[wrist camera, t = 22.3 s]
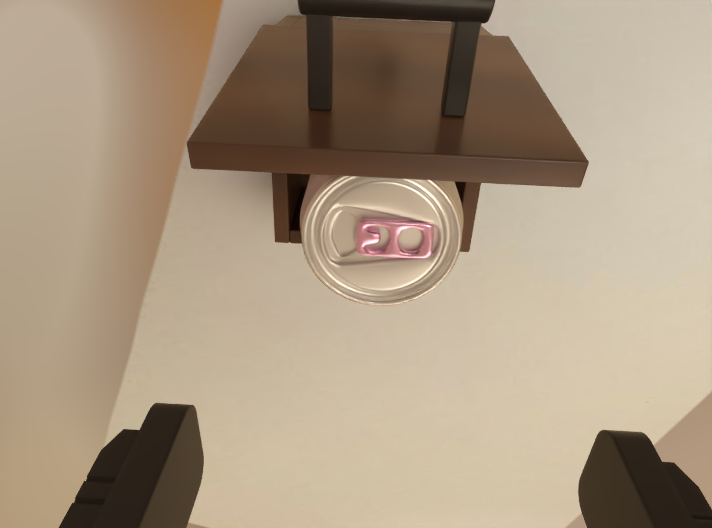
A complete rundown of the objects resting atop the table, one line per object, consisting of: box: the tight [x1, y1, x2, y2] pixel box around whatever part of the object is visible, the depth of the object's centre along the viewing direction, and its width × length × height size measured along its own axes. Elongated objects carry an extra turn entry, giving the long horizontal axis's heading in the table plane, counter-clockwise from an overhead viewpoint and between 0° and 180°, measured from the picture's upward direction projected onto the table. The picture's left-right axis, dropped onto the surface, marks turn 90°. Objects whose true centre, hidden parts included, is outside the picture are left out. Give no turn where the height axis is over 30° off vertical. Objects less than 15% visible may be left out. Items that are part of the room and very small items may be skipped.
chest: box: [272, 15, 493, 252], centre depth 29 cm, size 11×11×7 cm
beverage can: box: [300, 174, 463, 306], centre depth 25 cm, size 6×6×15 cm
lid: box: [187, 0, 589, 188], centre depth 17 cm, size 11×11×5 cm
